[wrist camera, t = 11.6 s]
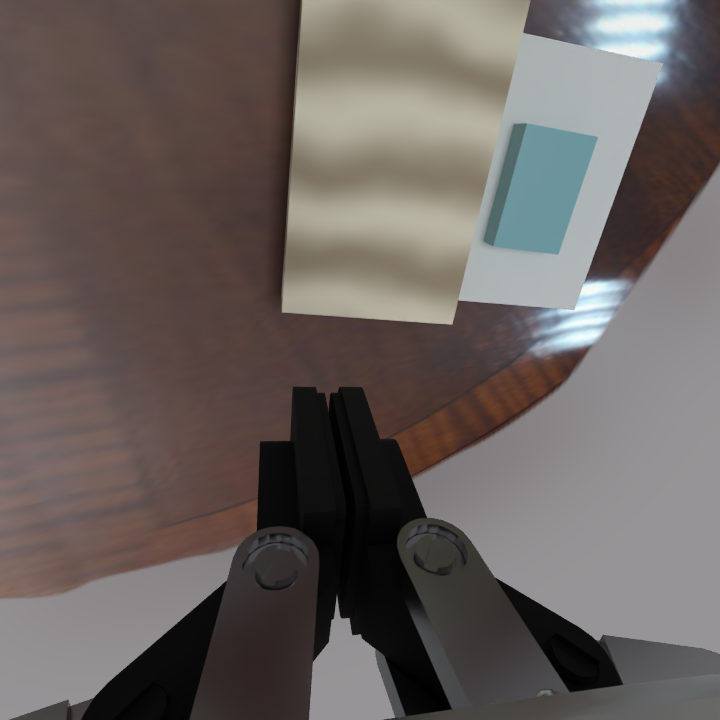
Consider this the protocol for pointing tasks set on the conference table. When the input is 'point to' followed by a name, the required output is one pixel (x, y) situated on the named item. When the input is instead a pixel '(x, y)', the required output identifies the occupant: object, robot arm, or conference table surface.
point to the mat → (609, 159)
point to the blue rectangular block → (538, 188)
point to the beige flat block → (392, 151)
